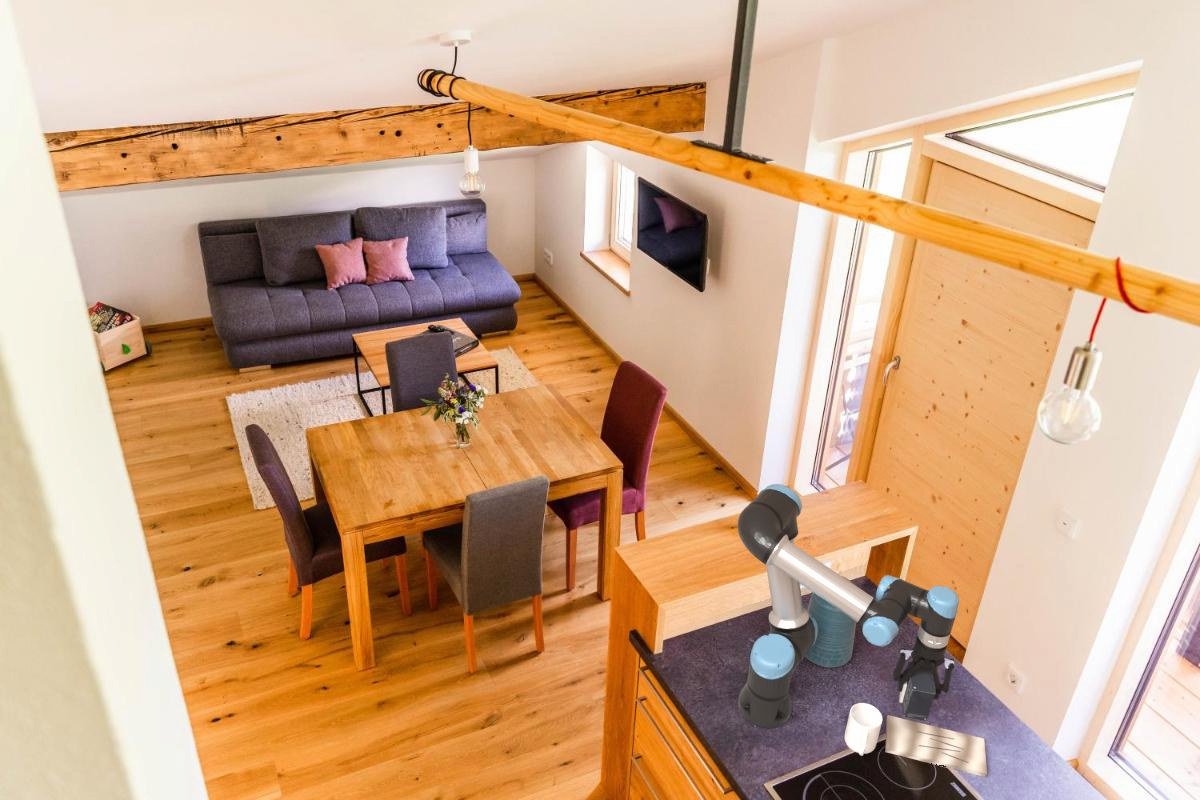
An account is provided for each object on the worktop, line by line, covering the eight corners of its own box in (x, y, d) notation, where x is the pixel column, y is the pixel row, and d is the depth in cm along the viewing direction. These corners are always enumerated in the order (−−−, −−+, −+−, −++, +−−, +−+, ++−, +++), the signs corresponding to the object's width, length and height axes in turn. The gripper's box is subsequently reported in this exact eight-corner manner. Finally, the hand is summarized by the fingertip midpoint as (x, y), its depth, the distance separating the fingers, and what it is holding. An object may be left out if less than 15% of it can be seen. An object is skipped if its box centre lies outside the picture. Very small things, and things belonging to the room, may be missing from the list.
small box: (928, 722, 236) (936, 694, 231) (903, 718, 237) (911, 690, 232) (924, 692, 245) (932, 664, 240) (900, 688, 246) (907, 660, 241)
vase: (787, 648, 277) (798, 582, 264) (818, 624, 287) (831, 559, 274) (831, 678, 267) (845, 611, 254) (861, 652, 276) (877, 586, 263)
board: (885, 751, 244) (886, 748, 243) (886, 718, 254) (887, 714, 253) (985, 777, 237) (987, 773, 237) (982, 742, 247) (984, 738, 247)
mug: (843, 761, 241) (849, 733, 236) (844, 726, 251) (850, 699, 246) (875, 768, 239) (883, 741, 234) (875, 733, 249) (882, 706, 244)
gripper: (892, 640, 228) (877, 703, 240) (973, 658, 224) (953, 721, 235) (893, 621, 235) (878, 683, 246) (971, 638, 230) (952, 700, 241)
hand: (914, 702), depth 240 cm, fingers closed on small box, 7 cm apart
